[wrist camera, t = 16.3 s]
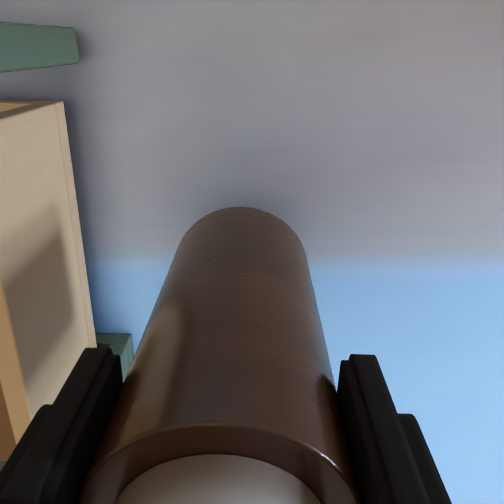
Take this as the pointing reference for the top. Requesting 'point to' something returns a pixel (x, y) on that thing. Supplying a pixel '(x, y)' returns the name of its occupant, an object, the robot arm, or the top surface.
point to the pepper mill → (229, 381)
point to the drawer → (38, 239)
